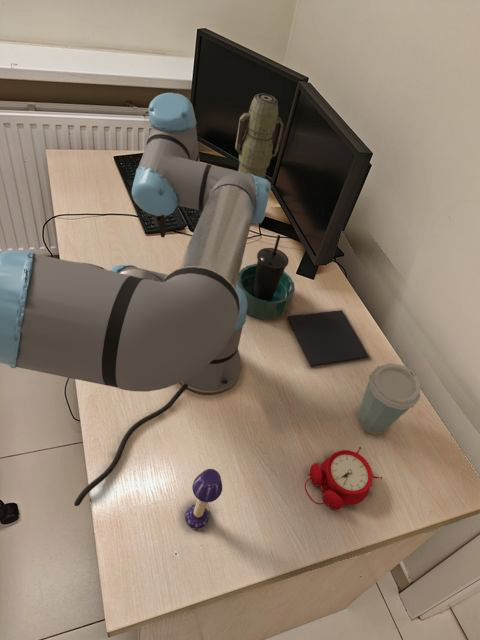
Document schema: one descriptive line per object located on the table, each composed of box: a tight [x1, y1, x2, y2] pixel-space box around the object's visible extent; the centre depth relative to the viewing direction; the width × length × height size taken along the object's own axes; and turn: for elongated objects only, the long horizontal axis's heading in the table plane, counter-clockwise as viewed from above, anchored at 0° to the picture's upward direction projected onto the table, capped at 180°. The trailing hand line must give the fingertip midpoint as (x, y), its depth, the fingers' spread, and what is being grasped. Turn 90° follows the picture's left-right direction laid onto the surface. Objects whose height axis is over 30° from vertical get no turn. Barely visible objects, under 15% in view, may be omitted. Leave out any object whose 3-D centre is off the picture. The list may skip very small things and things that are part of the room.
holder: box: [286, 309, 370, 368], centre depth 116 cm, size 16×16×1 cm
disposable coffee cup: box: [357, 362, 421, 435], centre depth 96 cm, size 11×11×15 cm
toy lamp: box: [184, 468, 223, 530], centre depth 75 cm, size 5×5×17 cm
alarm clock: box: [304, 446, 383, 511], centre depth 89 cm, size 10×6×15 cm
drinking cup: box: [253, 234, 290, 301], centre depth 113 cm, size 8×8×20 cm
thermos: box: [234, 92, 285, 179], centre depth 131 cm, size 9×12×35 cm
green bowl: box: [237, 263, 296, 320], centre depth 118 cm, size 15×15×6 cm
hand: (192, 237), depth 109 cm, fingers open, 13 cm apart
